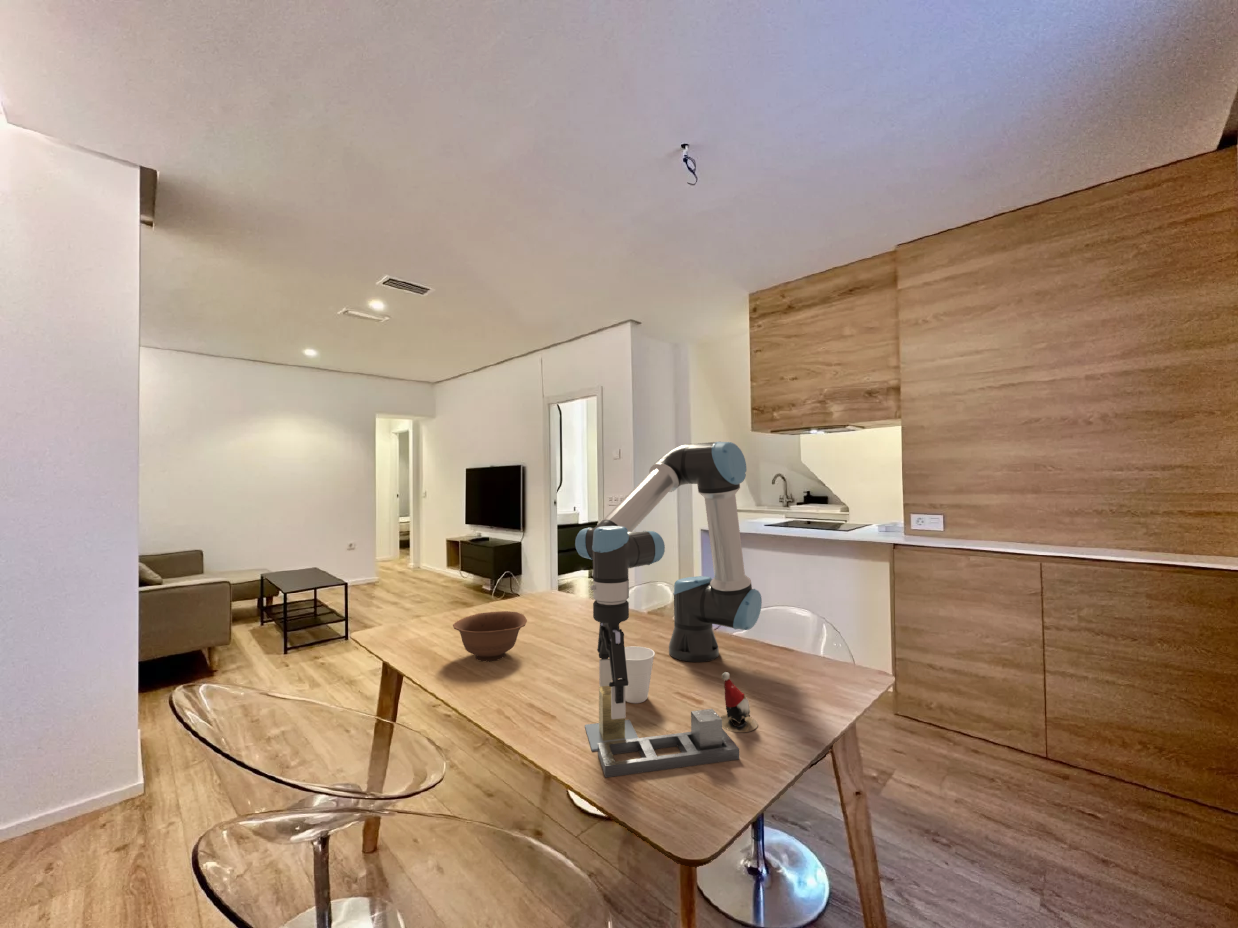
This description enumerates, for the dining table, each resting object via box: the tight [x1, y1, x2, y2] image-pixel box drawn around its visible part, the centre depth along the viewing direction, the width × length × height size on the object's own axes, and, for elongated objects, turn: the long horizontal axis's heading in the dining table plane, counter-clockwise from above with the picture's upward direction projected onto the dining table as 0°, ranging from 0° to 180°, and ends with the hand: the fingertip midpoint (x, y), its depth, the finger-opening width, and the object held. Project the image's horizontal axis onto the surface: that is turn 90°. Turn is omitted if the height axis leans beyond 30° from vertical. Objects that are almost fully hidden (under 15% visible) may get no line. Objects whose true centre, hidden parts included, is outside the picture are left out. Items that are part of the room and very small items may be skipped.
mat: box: [584, 719, 639, 752], centre depth 102 cm, size 10×10×1 cm
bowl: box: [452, 610, 528, 663], centre depth 150 cm, size 22×22×11 cm
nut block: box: [598, 686, 626, 741], centre depth 102 cm, size 5×5×9 cm
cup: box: [620, 645, 656, 704], centre depth 120 cm, size 10×10×11 cm
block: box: [690, 708, 723, 751], centre depth 96 cm, size 5×5×7 cm
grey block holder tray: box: [597, 728, 740, 778], centre depth 94 cm, size 26×8×2 cm, turn 102°
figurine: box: [719, 671, 759, 734], centre depth 107 cm, size 8×10×12 cm
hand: (611, 702), depth 103 cm, fingers open, 13 cm apart
